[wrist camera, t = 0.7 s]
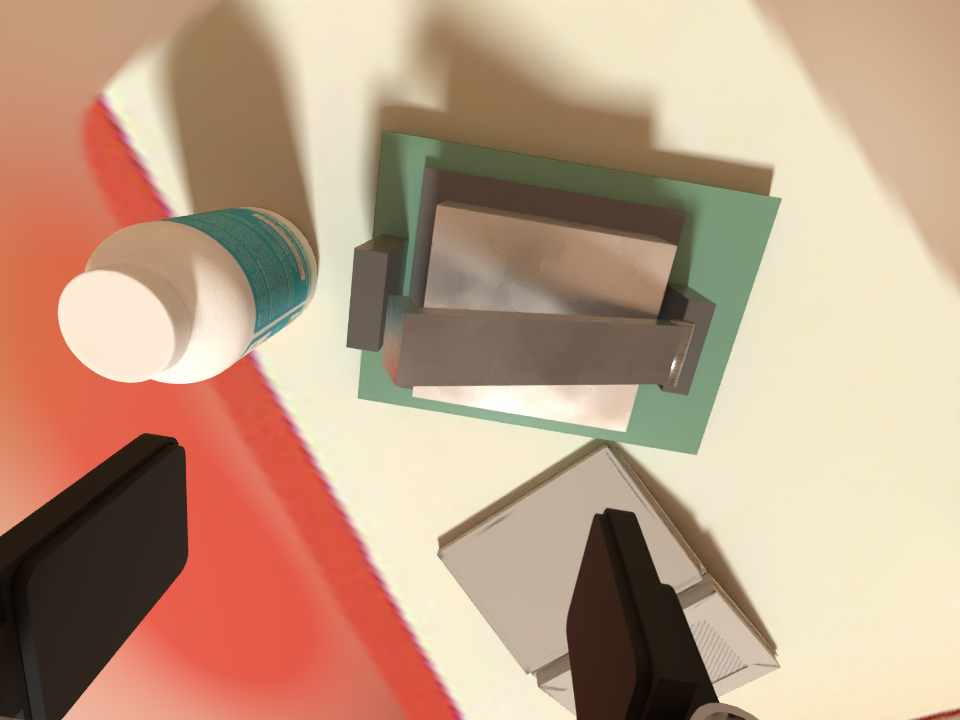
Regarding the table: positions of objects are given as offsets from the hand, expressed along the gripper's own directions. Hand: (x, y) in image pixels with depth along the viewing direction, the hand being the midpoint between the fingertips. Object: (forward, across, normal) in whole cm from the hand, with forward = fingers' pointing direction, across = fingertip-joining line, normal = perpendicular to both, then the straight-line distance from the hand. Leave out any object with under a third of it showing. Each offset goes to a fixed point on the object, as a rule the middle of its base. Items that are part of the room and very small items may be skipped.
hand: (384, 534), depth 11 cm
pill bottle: (+24, +13, +1) cm, 28 cm away
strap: (+16, -4, 0) cm, 16 cm away
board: (+24, -5, 0) cm, 25 cm away
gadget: (+25, -14, +22) cm, 36 cm away
